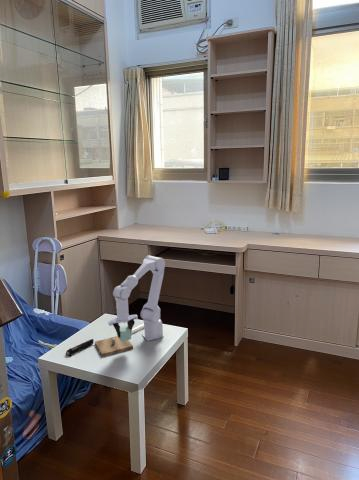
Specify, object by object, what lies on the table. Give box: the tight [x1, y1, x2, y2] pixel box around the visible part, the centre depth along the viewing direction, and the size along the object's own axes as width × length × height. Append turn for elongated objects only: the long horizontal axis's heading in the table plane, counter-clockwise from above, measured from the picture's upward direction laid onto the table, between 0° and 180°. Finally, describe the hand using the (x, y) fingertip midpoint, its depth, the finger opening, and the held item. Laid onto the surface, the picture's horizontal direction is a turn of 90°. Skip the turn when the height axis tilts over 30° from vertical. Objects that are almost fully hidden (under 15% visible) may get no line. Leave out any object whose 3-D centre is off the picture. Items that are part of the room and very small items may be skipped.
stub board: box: [94, 335, 134, 358], centre depth 182 cm, size 16×14×4 cm
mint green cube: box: [118, 325, 132, 342], centre depth 176 cm, size 5×5×5 cm
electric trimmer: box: [65, 338, 94, 357], centre depth 180 cm, size 4×16×3 cm, turn 139°
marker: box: [131, 323, 144, 335], centre depth 199 cm, size 3×2×16 cm
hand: (124, 335), depth 176 cm, fingers closed on mint green cube, 5 cm apart
